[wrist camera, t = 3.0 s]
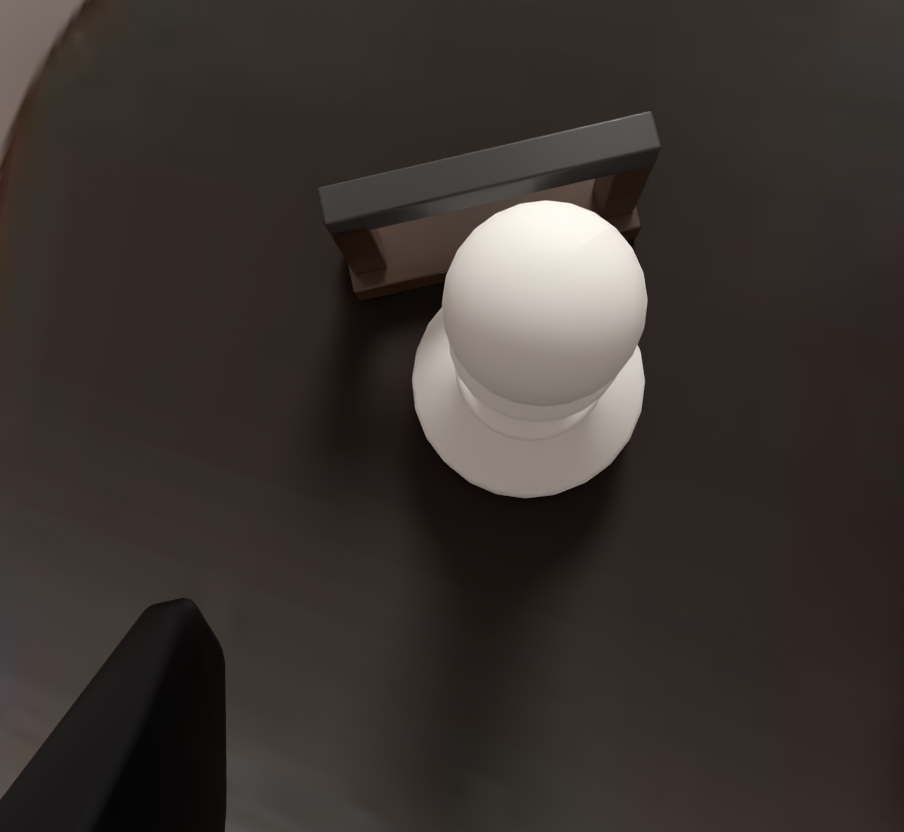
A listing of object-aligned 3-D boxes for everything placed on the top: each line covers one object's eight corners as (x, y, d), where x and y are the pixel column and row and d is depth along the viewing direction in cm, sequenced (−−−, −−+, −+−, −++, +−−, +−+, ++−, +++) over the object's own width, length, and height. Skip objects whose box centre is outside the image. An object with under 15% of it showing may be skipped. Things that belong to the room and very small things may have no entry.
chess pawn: (524, 544, 18) (548, 570, 9) (374, 390, 19) (263, 276, 10) (678, 392, 18) (847, 275, 10) (526, 245, 19) (549, 7, 10)
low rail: (620, 176, 19) (652, 88, 15) (637, 239, 19) (673, 166, 15) (346, 239, 19) (307, 168, 15) (359, 302, 19) (322, 246, 15)
